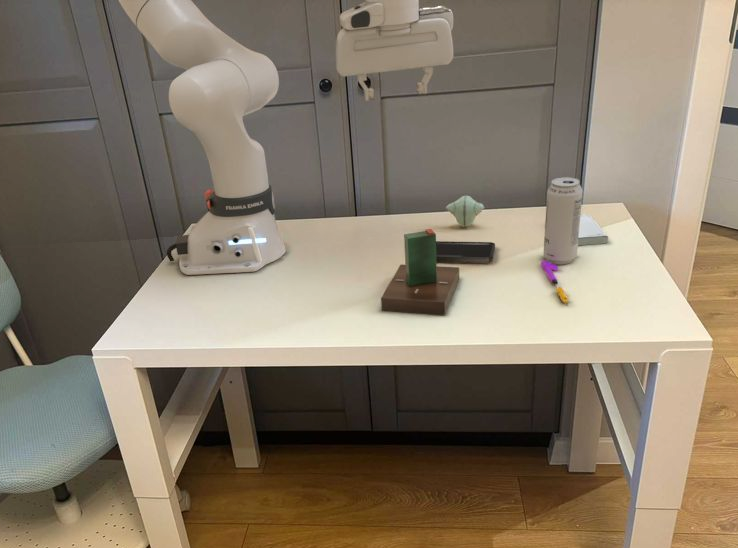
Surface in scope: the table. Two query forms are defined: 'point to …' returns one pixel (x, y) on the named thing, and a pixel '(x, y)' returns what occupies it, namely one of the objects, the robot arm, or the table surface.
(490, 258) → the phone
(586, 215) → the hard drive
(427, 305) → the dial panel
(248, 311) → the table surface
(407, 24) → the robot arm
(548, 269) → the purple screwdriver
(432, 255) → the green tall block
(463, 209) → the mint green lobed ornament
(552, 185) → the energy drink can
